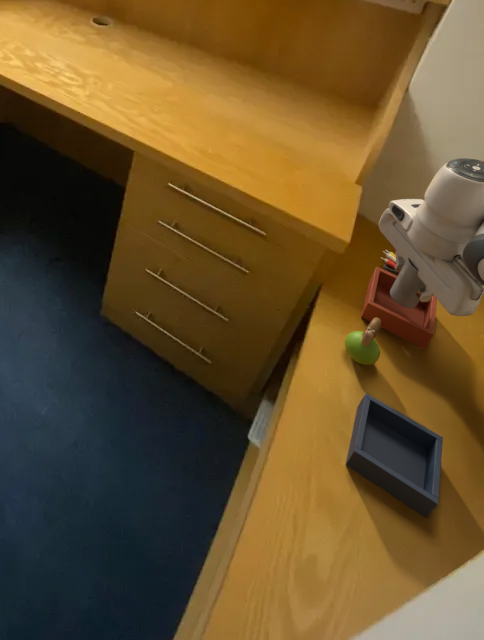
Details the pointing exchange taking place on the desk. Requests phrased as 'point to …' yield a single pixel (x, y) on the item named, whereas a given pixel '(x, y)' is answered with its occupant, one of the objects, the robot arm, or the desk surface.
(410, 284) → the grey cylindrical cup
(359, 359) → the snail figurine
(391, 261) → the composite cable
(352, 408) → the desk surface
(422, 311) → the terracotta bin
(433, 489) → the slate bin
